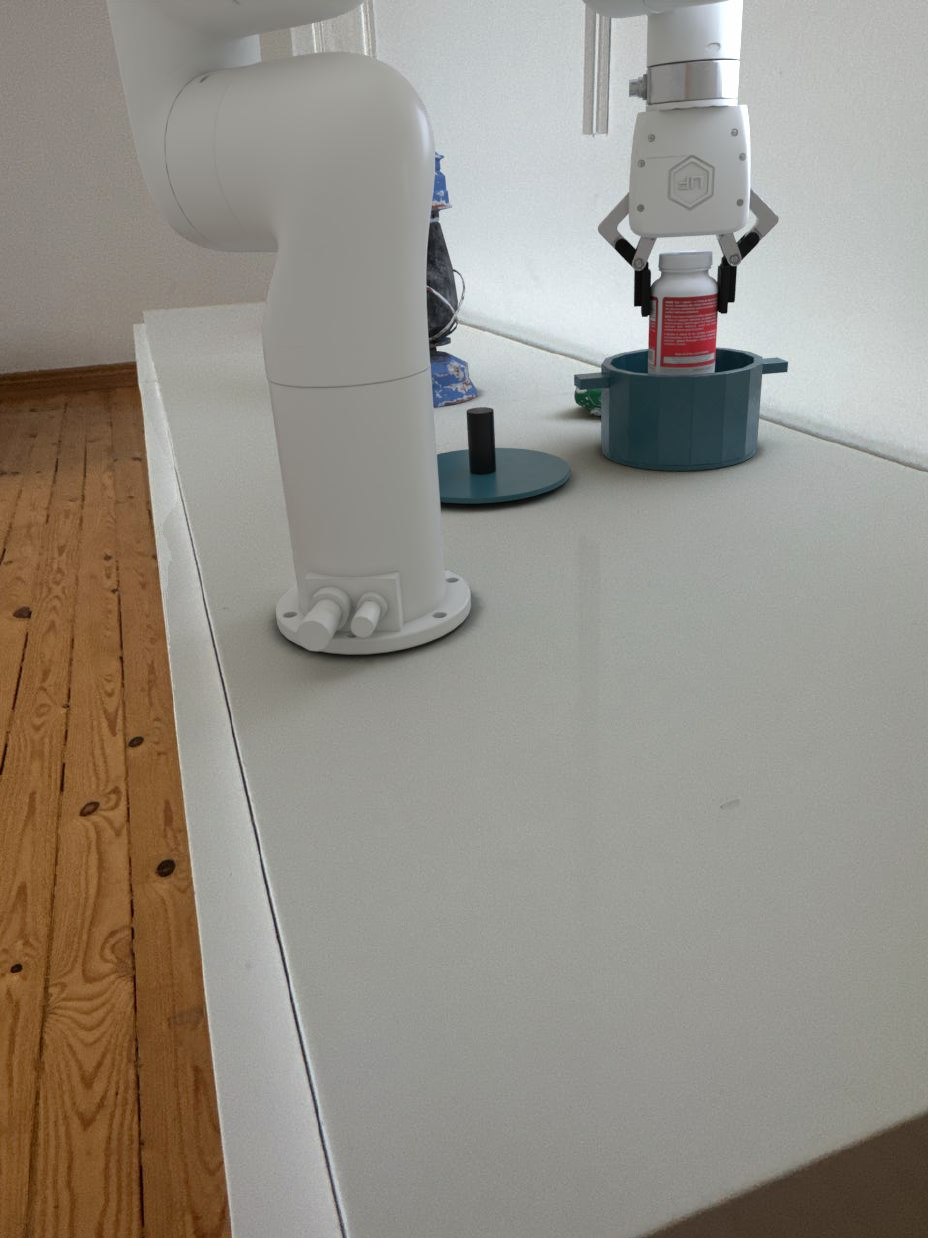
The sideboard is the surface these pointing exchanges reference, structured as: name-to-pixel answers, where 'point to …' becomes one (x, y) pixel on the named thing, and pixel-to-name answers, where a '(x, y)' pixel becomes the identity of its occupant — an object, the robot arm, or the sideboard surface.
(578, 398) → the gaming controller
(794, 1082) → the sideboard surface
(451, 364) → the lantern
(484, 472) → the pot lid
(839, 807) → the sideboard surface
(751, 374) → the teal cooking pot
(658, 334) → the pill bottle
